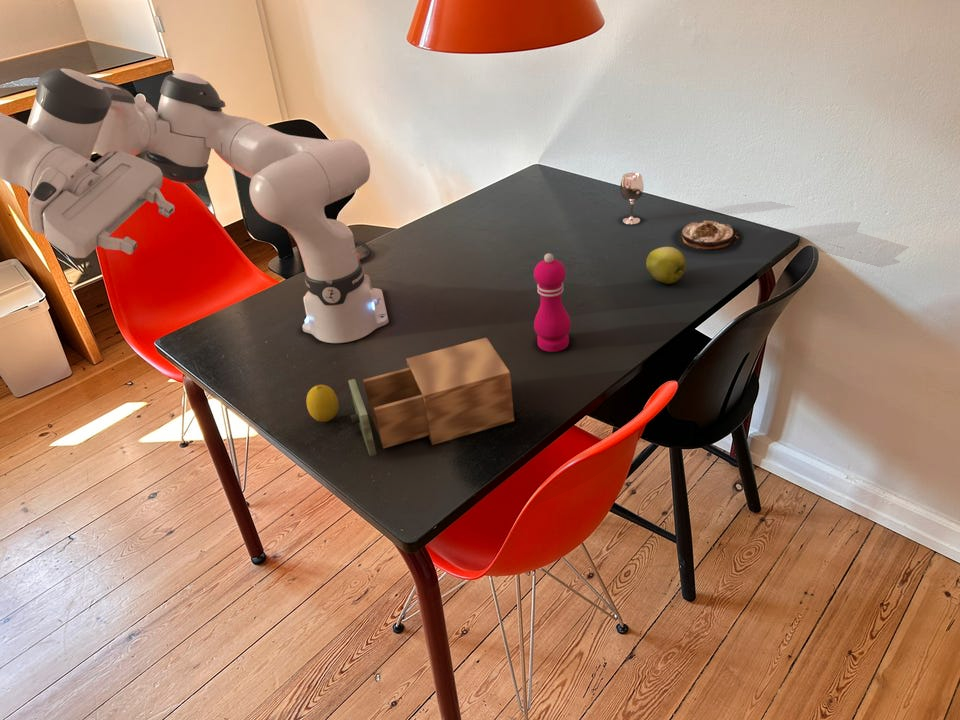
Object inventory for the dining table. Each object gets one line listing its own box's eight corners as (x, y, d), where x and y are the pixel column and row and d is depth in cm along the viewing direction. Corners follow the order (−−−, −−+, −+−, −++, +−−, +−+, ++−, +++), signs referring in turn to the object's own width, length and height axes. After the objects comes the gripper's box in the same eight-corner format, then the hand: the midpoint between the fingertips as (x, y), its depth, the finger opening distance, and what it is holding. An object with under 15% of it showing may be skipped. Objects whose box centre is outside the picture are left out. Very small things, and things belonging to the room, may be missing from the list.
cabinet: (432, 445, 131) (423, 395, 125) (414, 405, 141) (405, 358, 135) (514, 421, 135) (510, 372, 129) (491, 384, 144) (486, 337, 138)
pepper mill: (568, 332, 156) (565, 243, 145) (573, 351, 150) (570, 260, 139) (533, 335, 157) (527, 247, 145) (537, 355, 151) (531, 264, 139)
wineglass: (616, 218, 199) (616, 174, 192) (636, 214, 200) (637, 170, 193) (626, 227, 194) (626, 182, 187) (646, 222, 195) (648, 177, 189)
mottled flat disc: (724, 259, 176) (725, 243, 174) (665, 246, 185) (665, 230, 182) (750, 234, 185) (751, 218, 183) (692, 222, 194) (693, 207, 191)
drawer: (362, 458, 129) (352, 417, 124) (351, 421, 137) (341, 382, 133) (449, 433, 132) (442, 393, 127) (431, 399, 141) (425, 359, 136)
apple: (671, 294, 165) (673, 261, 160) (638, 281, 171) (639, 249, 166) (694, 281, 169) (696, 248, 164) (661, 268, 175) (663, 236, 170)
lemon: (339, 429, 137) (330, 394, 133) (309, 431, 138) (299, 396, 133) (344, 410, 142) (335, 375, 137) (315, 412, 142) (305, 377, 138)
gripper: (114, 161, 124) (191, 204, 125) (24, 236, 111) (110, 284, 112) (114, 131, 119) (194, 177, 120) (20, 207, 106) (111, 257, 107)
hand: (153, 230), depth 116 cm, fingers open, 8 cm apart
